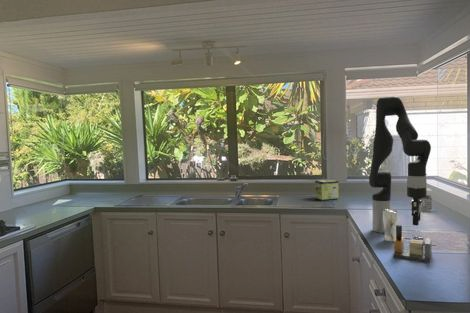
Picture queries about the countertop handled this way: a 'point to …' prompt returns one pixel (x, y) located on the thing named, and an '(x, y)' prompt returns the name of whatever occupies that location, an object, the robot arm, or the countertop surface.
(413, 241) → the block
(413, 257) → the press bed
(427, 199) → the french press
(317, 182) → the protein box
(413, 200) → the robot arm
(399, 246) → the press ram
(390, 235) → the beer glass
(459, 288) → the countertop surface
